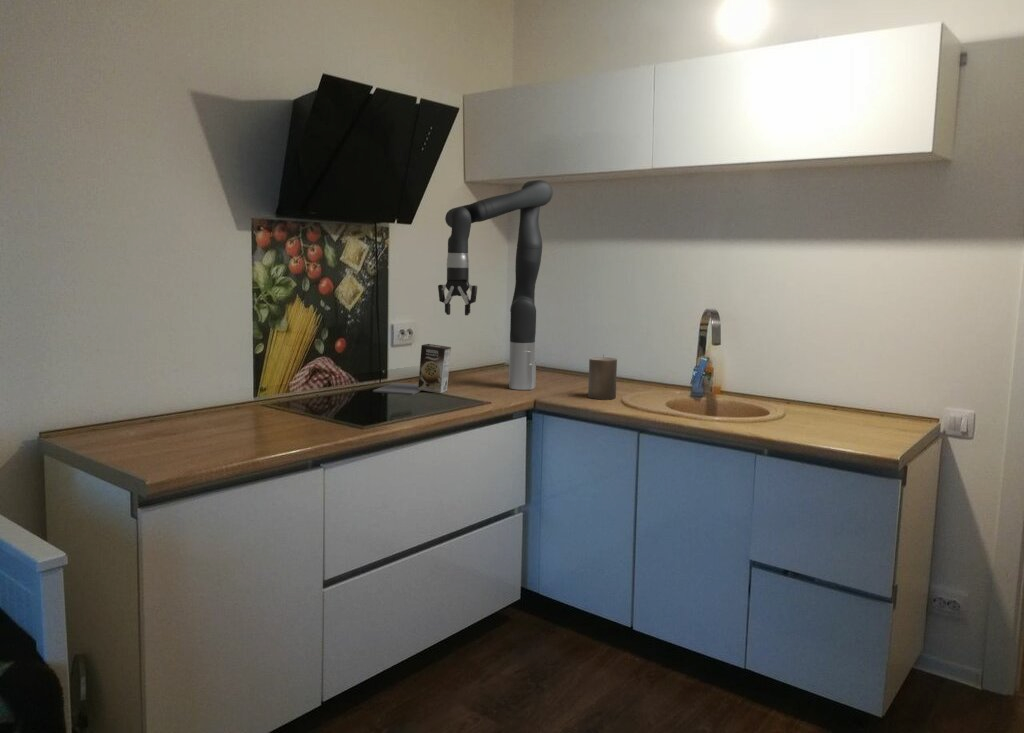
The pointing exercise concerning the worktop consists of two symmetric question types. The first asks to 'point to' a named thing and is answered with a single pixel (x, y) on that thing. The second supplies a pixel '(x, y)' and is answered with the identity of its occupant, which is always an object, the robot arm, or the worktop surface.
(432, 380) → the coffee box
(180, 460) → the worktop surface
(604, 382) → the pillar candle
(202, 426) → the worktop surface
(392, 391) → the mat
